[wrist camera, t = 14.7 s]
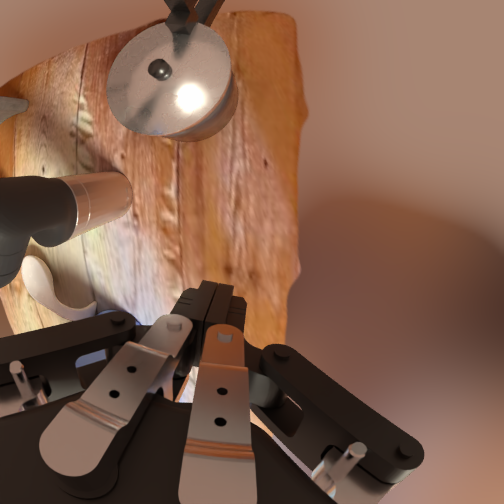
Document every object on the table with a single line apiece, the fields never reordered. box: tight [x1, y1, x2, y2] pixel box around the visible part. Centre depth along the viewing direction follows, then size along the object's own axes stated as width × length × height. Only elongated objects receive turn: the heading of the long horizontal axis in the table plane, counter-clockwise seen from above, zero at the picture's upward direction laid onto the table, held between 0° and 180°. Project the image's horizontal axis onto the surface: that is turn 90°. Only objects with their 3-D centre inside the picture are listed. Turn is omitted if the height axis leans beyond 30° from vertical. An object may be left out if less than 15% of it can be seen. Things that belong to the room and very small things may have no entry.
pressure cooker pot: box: [162, 0, 238, 142], centre depth 34 cm, size 24×16×13 cm, turn 160°
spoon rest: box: [22, 255, 97, 321], centre depth 50 cm, size 24×12×7 cm, turn 65°
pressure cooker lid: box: [106, 0, 232, 136], centre depth 23 cm, size 25×17×8 cm, turn 161°
